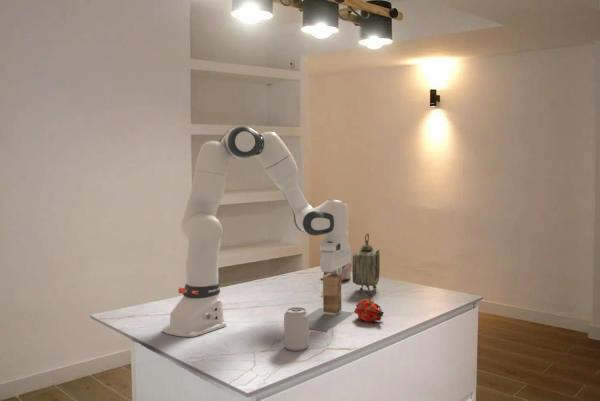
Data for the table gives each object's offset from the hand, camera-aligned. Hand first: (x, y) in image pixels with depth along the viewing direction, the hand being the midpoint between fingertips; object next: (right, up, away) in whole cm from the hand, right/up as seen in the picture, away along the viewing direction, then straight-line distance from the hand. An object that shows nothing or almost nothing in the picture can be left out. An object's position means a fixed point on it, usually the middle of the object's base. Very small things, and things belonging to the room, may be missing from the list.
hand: (336, 279), depth 210 cm
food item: (+4, -8, +55) cm, 55 cm away
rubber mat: (-6, -13, -10) cm, 17 cm away
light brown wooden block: (-2, -12, -3) cm, 12 cm away
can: (-15, -16, -37) cm, 43 cm away
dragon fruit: (+11, -13, -12) cm, 21 cm away
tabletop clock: (+14, -10, +30) cm, 34 cm away
